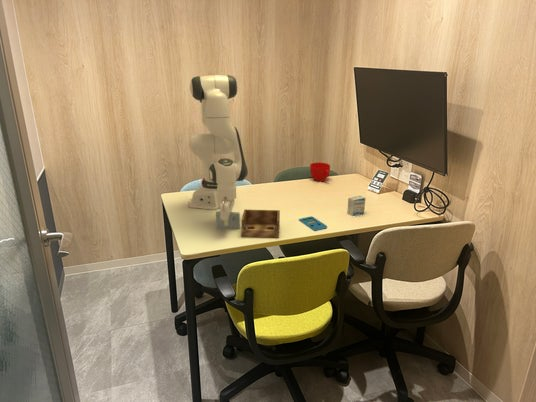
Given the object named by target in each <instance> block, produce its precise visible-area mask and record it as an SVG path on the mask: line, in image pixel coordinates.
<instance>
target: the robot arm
mask: <svg viewBox="0 0 536 402" xmlns="http://www.w3.org/2000/svg"><path fill="white" fill-rule="evenodd" d="M238 89H239V85H238V81H237V79H236V77H235V75H234V76H233V75H229V74H227V75H224V74H223V75H222V74H211V75H202V76H199V75H198V76H194V77H192V78H191V80H190V84H189V91H190V94H191V95H192V96H191V97H192V98H194V100H197V101H198V102H199V103H201V122H202V124H203V125H204V126H205V127H206V128H207V130H208V132H209V133H198V134H195V135H191V137H190V138H189V140H188V148H189V150H190V153H192V154H193V155H195V156H196V157H197V158H198V159H199V160H200V162H201V163H202V166H203V171H204V177H202V178H201V186H199V187H198V188H197V189H195V191H193V193H192V197H191V199H189V201H188V203H187V206H188V208H190V209H191V208H193V209H200V210H201V209H202V210H203V209H204V210H211V211H215V210H218V209H219V210H220V211H219V212H220V219H221V220H224V225H225V226H228V224H229V221H228V219H229V216H230V214H231V212H233V208H234V205H235V199H237V185H236V182H243V181H244V180H245V179H246V178H247V176H248V173H249V172H248V166H247V163H246V159H245V156H244V151H243V146H242V142H241V137H240V133H239V131H238V129H237V127H235V126H234V125H233V124H232V121H231V112H230V111H231V110H230V105H229V100H230V99H232V98H235V97H236V95H237V94H238ZM232 153H233V157H234V159H232V158H231V159H230V158H219V159H216V158H215V157H214V155H227V154H232Z"/></svg>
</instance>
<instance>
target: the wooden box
mask: <svg viewBox="0 0 536 402" xmlns="http://www.w3.org/2000/svg"><path fill="white" fill-rule="evenodd" d="M280 214H281V210H279V209H278V210H277V209H247V208H245V209H243V214H242V216H241V230H240V231H241V238H268V239H269V238H270V239H273V238H274V239H279V238H280V225H281V224H280V221H281V220H280V219H281V218H280Z"/></svg>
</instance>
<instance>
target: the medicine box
mask: <svg viewBox="0 0 536 402" xmlns="http://www.w3.org/2000/svg"><path fill="white" fill-rule="evenodd" d="M365 207H366V197H365V196H362V195H357V196H352V197H348V200H347V212H346V214H349V215H350V216H352V217H353V216H358V215H362V214H364V213H365V209H366V208H365Z"/></svg>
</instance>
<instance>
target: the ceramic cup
mask: <svg viewBox="0 0 536 402" xmlns="http://www.w3.org/2000/svg"><path fill="white" fill-rule="evenodd" d="M309 169H310V170H309V172H310V175H311V177H312V179H313V180H314V181H316V182H324V181H325V180H326V179H327V178H328V177H330V170H331V165H330V164H329V163H326V162H313V163H310V165H309Z"/></svg>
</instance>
